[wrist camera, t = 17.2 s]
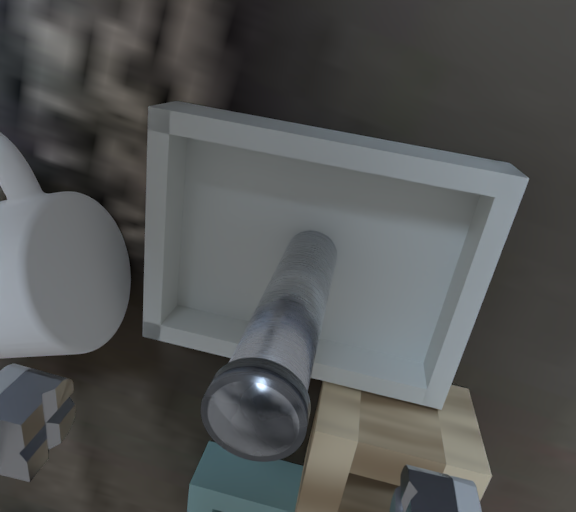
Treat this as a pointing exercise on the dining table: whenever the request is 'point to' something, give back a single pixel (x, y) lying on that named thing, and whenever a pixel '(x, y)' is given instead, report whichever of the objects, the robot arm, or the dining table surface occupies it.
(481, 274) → the tray
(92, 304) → the mug
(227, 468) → the stand
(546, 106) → the dining table surface
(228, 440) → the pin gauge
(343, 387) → the beech block
